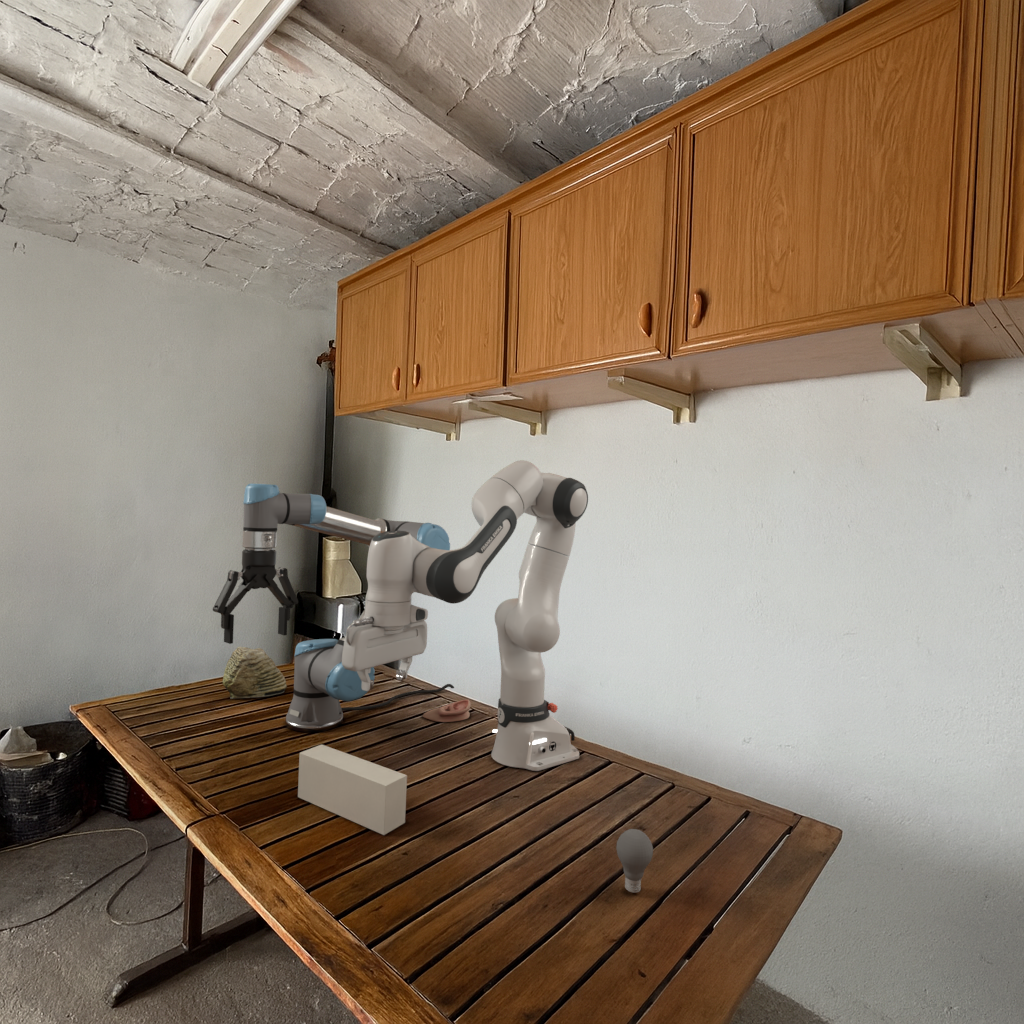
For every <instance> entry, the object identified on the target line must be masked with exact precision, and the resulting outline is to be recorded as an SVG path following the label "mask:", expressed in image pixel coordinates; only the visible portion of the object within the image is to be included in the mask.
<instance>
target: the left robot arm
mask: <svg viewBox="0 0 1024 1024" xmlns="http://www.w3.org/2000/svg"><path fill="white" fill-rule="evenodd" d="M242 502H243V503H242V504H243V528H242V545H241V546H242V547H243V548H244V549H243V550H242V551H241V566H242V567H241V571H236V570H228V572H227V578H226V581H225V583H224V586H223V587H222V589H221V591H220V593H219V595H218V597H217V599H216V601H215V603H214V604H213V607H212V611H213V612H215V613H217V614H220V627H221V629H223V632H224V633H223V643H226V644H229V645H231V644H234V625H235V614H232V612H233V611H234V610H235V609H236V607H237V606H238V605H239V604H240V603H241V601H242V600H243V598H244V597H245V596H246V595H247V593H248V592H250V591H251V590H258V589H268V590H269V592H270V593H271V594H272V595H273V596H274V598H275V599H276V600H277V601H278V602H279V603H280V605H281V606H280V607H279V606H278V618H277V619H278V620H277V621H278V624H277V634H278V635H280V636H288V622H289V621H291V620H290V619H291V610H292V609H293V608H294V605H298V604H299V600H298V597H297V595H296V592H295V590H294V587H293V586H292V583H291V581H290V578H289V571H288V568H286V567H282V566H281V567H280V566H279V567H278V568H276V565H277V551H276V549H275V548H277V540H278V525H283V524H284V525H287V526H293V527H297V528H301V529H304V530H308V531H313V532H316V533H320V534H324V535H327V536H332V537H336V538H339V539H344V540H347V541H352V542H355V543H359V544H363V545H366V546H367V547H368V548H369V547H370V543H371V541H372V539H373V537H375V536H376V535H377V534H380V533H383V532H388V531H406V532H409V533H410V535H411V536H412V537H413V538H414V539H416V540H417V541H419V542H420V543H422V544H424V545H427V546H429V547H430V548H436V549H441V550H451V543H450V537H449V534H448V533H447V531H446V529H444V528H443V527H442V526H440V525H439V524H435V523H432V522H417V521H408V520H407V521H406V520H405V521H404V520H390V519H384V518H382V517H377V518H375V519H373V518H368V517H365V516H362V515H358V514H355V513H351V512H348V511H344V510H341V509H337V508H334V507H330V506H327V503H326V500H325V498H324V497H323V496H322V495H320V494H314V493H313V494H312V493H295V492H294V493H293V492H291V493H290V492H287V493H286V492H280V488H279V485H277V484H271V483H268V484H267V483H248V484H247V485H246V486H245V488H244V495H243V501H242ZM275 577H277V578H278V581H279V583H280V585H281V588H282V590H283V591H282V590H281V589H280V587H279V585H278V584H277V583H276V581H275V580H274V579H275ZM239 580H242V581H241V582H240V583H239V585H238V586H237V583H238V581H239ZM236 586H237V587H238V588H237V589H236ZM235 589H236V590H235ZM234 590H235V591H234ZM283 592H284V593H283ZM364 618H365V609H364V610H363V611H362V613H361V615H360V616H359V618H358V619H359V620H361V619H364ZM345 637H346V636H344V637H343V636H342V637H340V638H339V639H337V638H319V639H308V640H303V641H300V642H297V644H296V646H295V650H294V655H293V657H294V672H293V695H292V696H293V697H292V699H291V702H290V704H289V708H288V711H287V713H286V715H285V726H286V728H287V729H289V730H291V731H294V732H295V731H296V732H301V733H316V732H325V731H329V730H332V729H335V728H337V727H339V726H340V725H342V723H343V722H344V713H343V712H347V711H349V712H350V711H367V710H373V709H379V708H382V707H385V706H388V705H390V704H391V703H392V702H393V701H395V700H396V699H400V698H403V697H406V696H410V695H419V694H434V693H440V692H442V691H444V690H445V689H447V688H450V689H455V686H454V685H453V684H451V683H447V684H444V685H443V686H441V687H440V688H437V689H423V690H412V691H407V692H401V693H398V694H396V695H394V696H392V697H391V698H390V699H388V700H387V701H385V702H381V703H378V704H377V703H376V704H373V705H365V706H346V707H345V706H344V707H342V706H341V702H340V701H342V702H353V701H354V702H355V701H357V700H359V699H361V698H362V697H364V696H366V694H367V693H368V692H369V691H364V690H362V688H361V687H362V681H361V679H360V677H359V675H358V673H357V671H351V670H347V669H345V668H344V667H343V665H342V654H343V647H344V641H345ZM375 672H376V671H375V667H371V672H370V673H368V675H369V677H370V680H373V681H374V682H375V680H376V679H375V677H376V675H375V674H376V673H375Z"/></svg>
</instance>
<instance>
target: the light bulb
mask: <svg viewBox="0 0 1024 1024" xmlns="http://www.w3.org/2000/svg"><path fill="white" fill-rule="evenodd" d="M615 849H616V854H617V857H618V859H619V861H620V863H621V865H622V867H623V873H624V874H623V875H624V876H625V878H624V888H625V890H627V891H628V892H630V893H634V894H635V893H639V892H640V891H641V889H642V887H641V886H642V879H643V877H644V875H645V871H646V868H647V867H648V866H649V864H650V863H651V861H652V859H653V855H654V847H653V843H652V841H651V838H649V836H648V835H647V834H646V833H645V832H643V831H642V830H641V829H636V828H629V829H627V830H625V831H623V832H622V833H621V834H620V835H619V837H618V839H617V841H616V847H615Z"/></svg>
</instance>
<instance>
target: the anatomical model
mask: <svg viewBox="0 0 1024 1024" xmlns="http://www.w3.org/2000/svg"><path fill="white" fill-rule="evenodd" d="M471 704H472V703H471V700H470V699H461V700H457V701H454V702H451V703H449V704H446V705H443V706H439V707H436V708H433V709H430V710H428V711H426V712H424V713H423V714H422V718H424V719H427V720H430V721H432V722H437V723H449V722H451V723H452V722H460V721H464V720H468V719H469V718H470V717H471V716H470V715H471V714H470V711H469V710H470V709H471V706H472V705H471Z"/></svg>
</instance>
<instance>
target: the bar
mask: <svg viewBox="0 0 1024 1024" xmlns="http://www.w3.org/2000/svg"><path fill="white" fill-rule="evenodd" d="M298 754H299V755H298V756H299V758H298V785H297V786H298V787H297V798H299V799H301V800H304V801H305V802H308V803H310V804H312V805H315V806H317V807H319V808H321V809H324V810H326V811H328V812H330V813H333V814H335V815H337V816H339V817H342V818H344V819H346V820H349V821H351V822H353V823H356V824H358V825H360V826H362V827H364V828H367V829H369V830H371V831H373V832H375V833H377V834H380V835H382V836H386V835H387V834H388V833H390V832H392V831H394V830H395V829H397V828H399V827H400V826H402V825H404V824H405V823H406V810H407V786H408V775H407V774H404V773H402V772H399V771H396V770H394V769H391V768H388V767H385V766H382V765H380V764H377V763H374V762H371V761H369V760H366V759H363V758H361V757H358V756H355V755H352V754H350V753H347V752H344V751H341V750H338V749H335V748H332V747H330V746H328V745H325V744H319V745H316V746H313V747H310V748H308V749H306V750H303V751H301V752H299V753H298Z"/></svg>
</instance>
